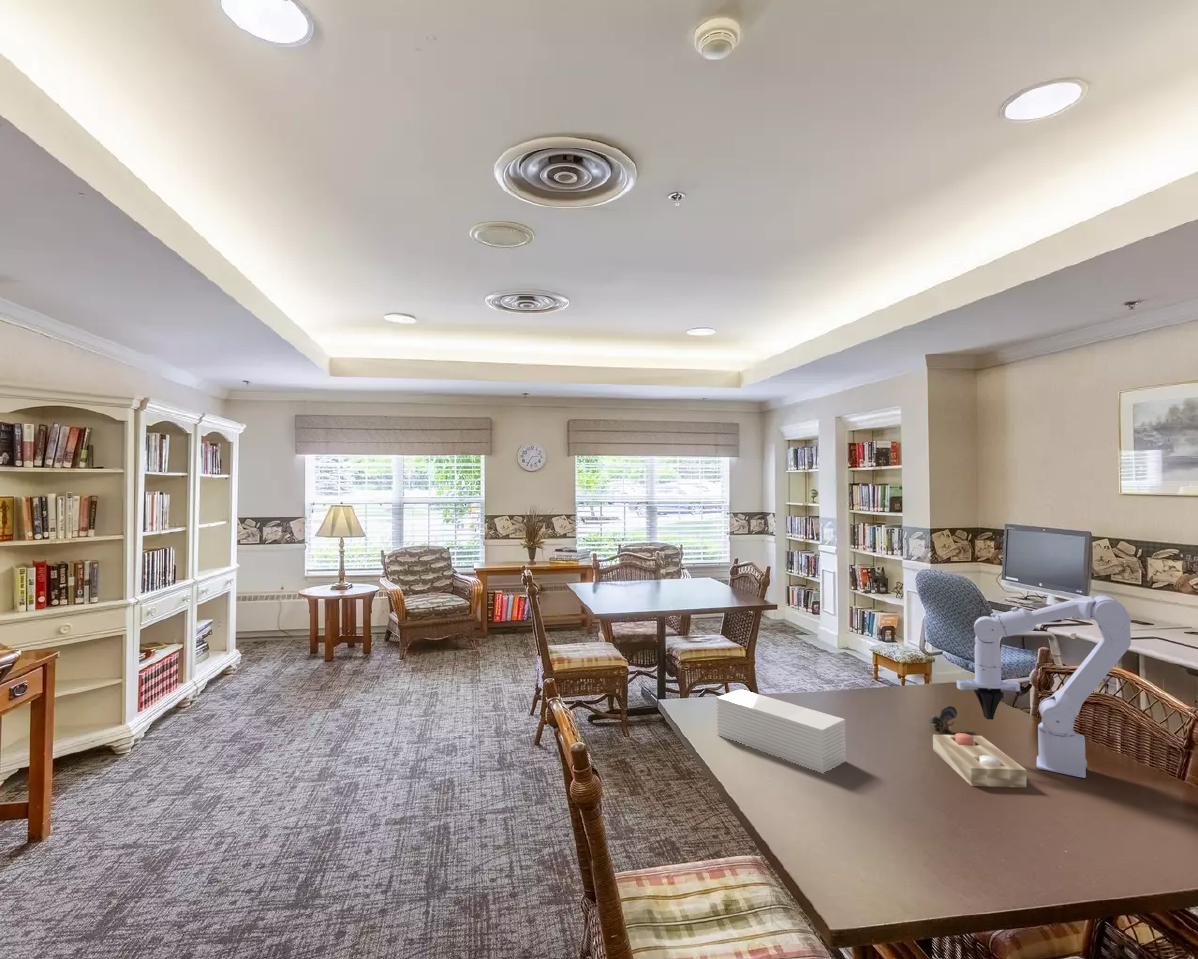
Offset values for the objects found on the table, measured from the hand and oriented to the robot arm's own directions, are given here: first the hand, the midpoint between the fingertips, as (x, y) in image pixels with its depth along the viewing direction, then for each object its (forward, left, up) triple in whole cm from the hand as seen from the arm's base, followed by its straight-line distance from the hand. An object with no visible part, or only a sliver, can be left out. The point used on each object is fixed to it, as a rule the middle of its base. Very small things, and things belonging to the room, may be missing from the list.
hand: (988, 718), depth 162 cm
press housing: (+2, +10, -9) cm, 14 cm away
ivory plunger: (-1, +15, -9) cm, 18 cm away
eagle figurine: (+12, -12, -10) cm, 19 cm away
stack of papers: (+46, +25, -10) cm, 53 cm away
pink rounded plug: (+5, +5, -9) cm, 11 cm away
